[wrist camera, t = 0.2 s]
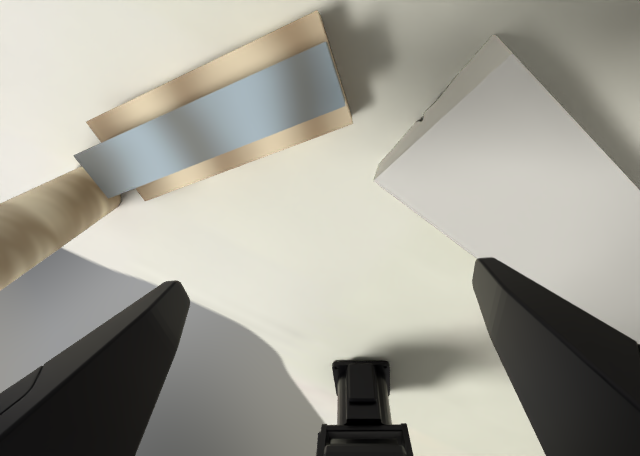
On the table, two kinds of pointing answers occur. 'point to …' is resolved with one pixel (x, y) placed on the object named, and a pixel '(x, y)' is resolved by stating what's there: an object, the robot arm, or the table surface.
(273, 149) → the ridge rail
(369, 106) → the table surface
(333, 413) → the table surface
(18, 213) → the maple post
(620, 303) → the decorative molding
